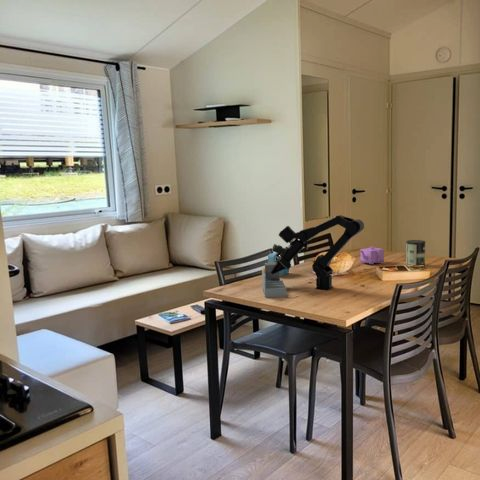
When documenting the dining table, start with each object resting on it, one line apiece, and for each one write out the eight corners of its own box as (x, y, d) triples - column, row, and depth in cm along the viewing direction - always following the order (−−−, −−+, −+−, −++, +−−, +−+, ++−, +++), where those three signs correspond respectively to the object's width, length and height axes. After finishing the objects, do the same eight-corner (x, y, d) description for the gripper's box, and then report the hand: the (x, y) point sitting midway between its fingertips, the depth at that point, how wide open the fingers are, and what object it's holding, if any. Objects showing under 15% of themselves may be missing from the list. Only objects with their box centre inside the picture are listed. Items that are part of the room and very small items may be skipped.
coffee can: (424, 264, 295) (425, 239, 293) (425, 267, 286) (425, 242, 284) (405, 263, 298) (406, 239, 296) (405, 267, 289) (406, 242, 287)
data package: (274, 277, 276) (273, 255, 274) (268, 276, 279) (267, 254, 278) (289, 273, 284) (288, 252, 282) (283, 272, 287) (282, 251, 286)
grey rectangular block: (279, 286, 256) (278, 262, 254) (279, 287, 253) (279, 263, 251) (265, 286, 255) (264, 262, 254) (265, 288, 252) (264, 263, 251)
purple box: (366, 267, 293) (366, 249, 292) (350, 263, 305) (350, 246, 304) (390, 263, 301) (390, 246, 300) (374, 260, 314) (374, 243, 312)
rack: (282, 288, 250) (282, 264, 248) (286, 296, 235) (286, 271, 233) (262, 289, 250) (261, 265, 248) (264, 297, 234) (264, 271, 233)
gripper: (279, 235, 260) (258, 258, 261) (283, 241, 242) (260, 265, 243) (295, 250, 261) (274, 273, 263) (300, 257, 243) (277, 281, 244)
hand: (271, 272), depth 253 cm, fingers closed on grey rectangular block, 3 cm apart
